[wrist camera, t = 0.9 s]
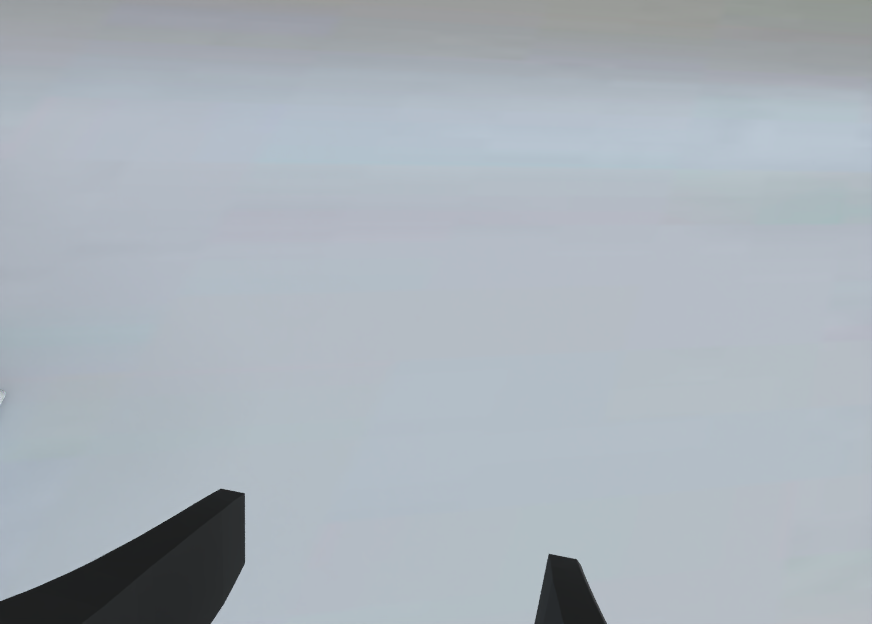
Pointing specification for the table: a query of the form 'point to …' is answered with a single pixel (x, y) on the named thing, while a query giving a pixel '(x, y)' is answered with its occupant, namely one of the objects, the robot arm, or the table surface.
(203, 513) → the robot arm
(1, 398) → the skincare box
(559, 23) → the table surface
